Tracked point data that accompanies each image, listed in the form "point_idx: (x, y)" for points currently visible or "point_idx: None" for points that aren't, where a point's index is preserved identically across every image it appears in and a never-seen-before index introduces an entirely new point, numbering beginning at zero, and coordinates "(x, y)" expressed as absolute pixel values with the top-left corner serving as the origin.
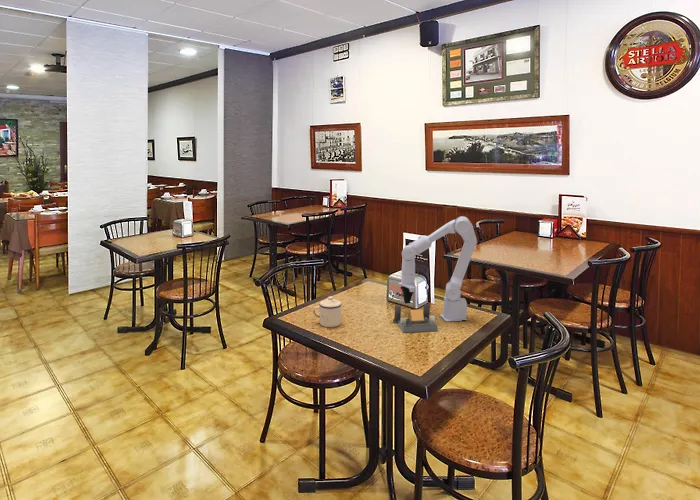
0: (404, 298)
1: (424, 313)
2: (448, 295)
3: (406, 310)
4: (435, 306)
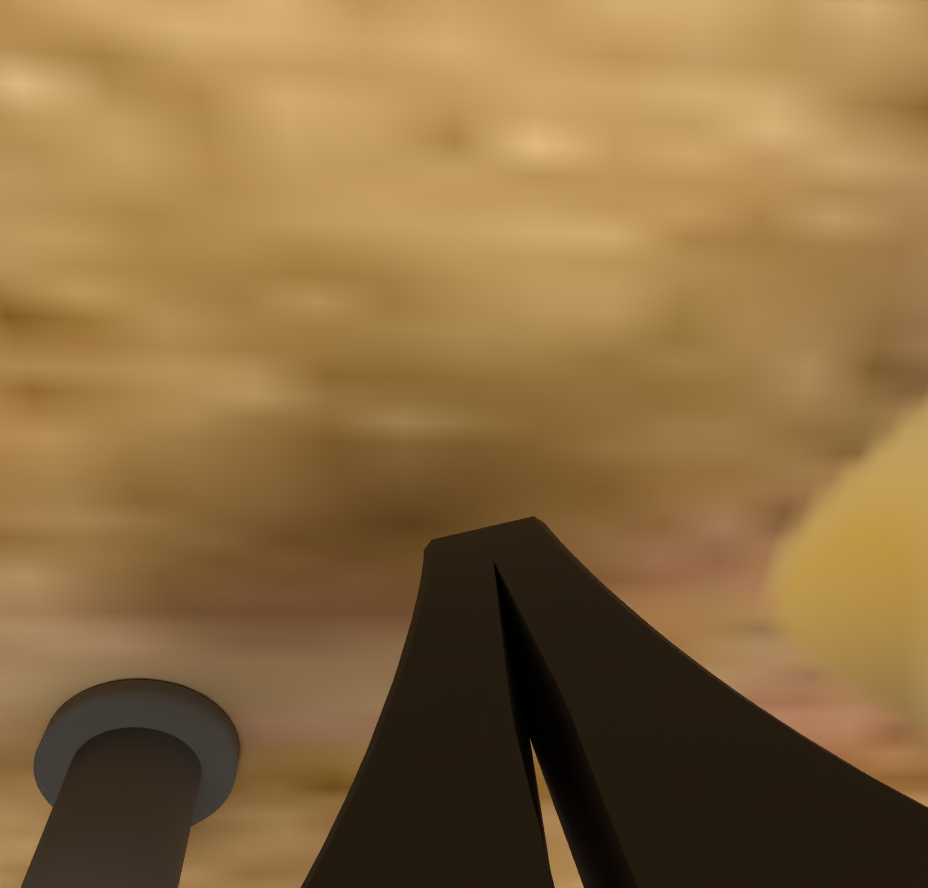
0: (440, 651)
1: (31, 876)
2: None
3: (729, 410)
4: None
